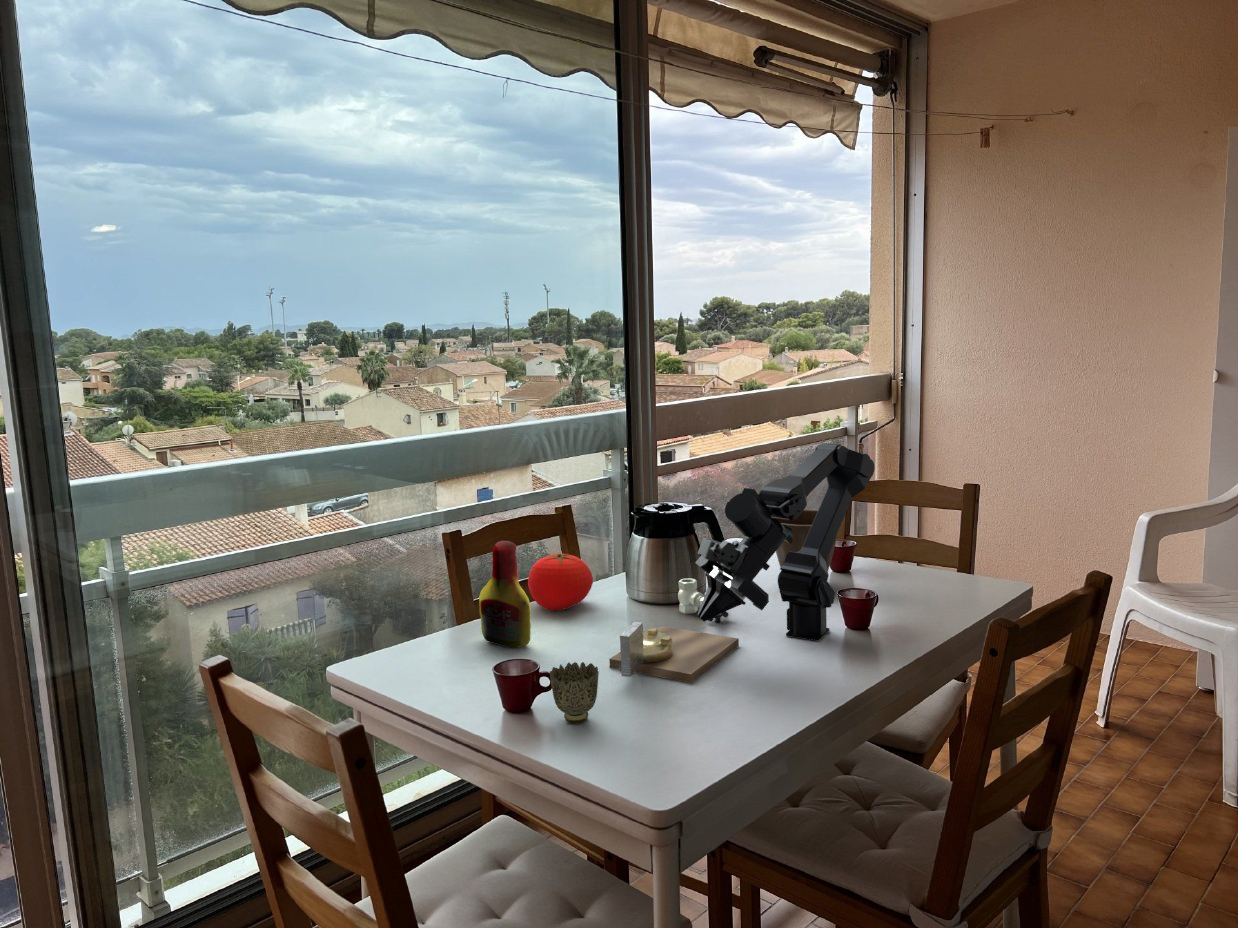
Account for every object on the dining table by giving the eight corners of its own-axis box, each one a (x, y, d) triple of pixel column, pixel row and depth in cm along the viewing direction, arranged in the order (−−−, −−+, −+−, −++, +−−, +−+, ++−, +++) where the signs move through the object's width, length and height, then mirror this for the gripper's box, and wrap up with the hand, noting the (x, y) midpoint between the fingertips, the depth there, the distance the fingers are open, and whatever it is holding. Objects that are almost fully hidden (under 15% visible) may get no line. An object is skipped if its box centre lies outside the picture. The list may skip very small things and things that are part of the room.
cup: (551, 711, 141) (549, 662, 140) (599, 708, 142) (596, 659, 141) (552, 732, 134) (549, 681, 133) (602, 729, 135) (599, 677, 133)
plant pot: (846, 596, 193) (846, 523, 190) (776, 599, 193) (775, 525, 191) (831, 577, 208) (831, 508, 205) (766, 579, 208) (765, 511, 205)
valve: (669, 612, 188) (705, 626, 178) (668, 581, 187) (705, 594, 177) (695, 605, 191) (731, 620, 181) (694, 575, 190) (731, 588, 180)
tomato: (545, 595, 202) (542, 544, 201) (601, 600, 197) (599, 548, 196) (518, 613, 191) (515, 559, 189) (577, 618, 186) (575, 563, 184)
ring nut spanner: (631, 642, 165) (629, 605, 164) (678, 646, 162) (677, 608, 161) (600, 674, 151) (598, 633, 150) (652, 679, 148) (650, 638, 147)
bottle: (541, 645, 171) (535, 541, 168) (516, 655, 166) (509, 549, 163) (499, 632, 179) (493, 533, 176) (474, 641, 174) (467, 540, 171)
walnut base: (738, 646, 166) (738, 638, 166) (691, 682, 150) (690, 674, 150) (662, 633, 175) (662, 625, 174) (609, 666, 159) (609, 658, 159)
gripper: (703, 510, 164) (649, 577, 163) (749, 532, 147) (689, 607, 145) (744, 546, 168) (691, 612, 166) (794, 572, 150) (735, 646, 149)
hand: (700, 618), depth 157 cm, fingers closed
